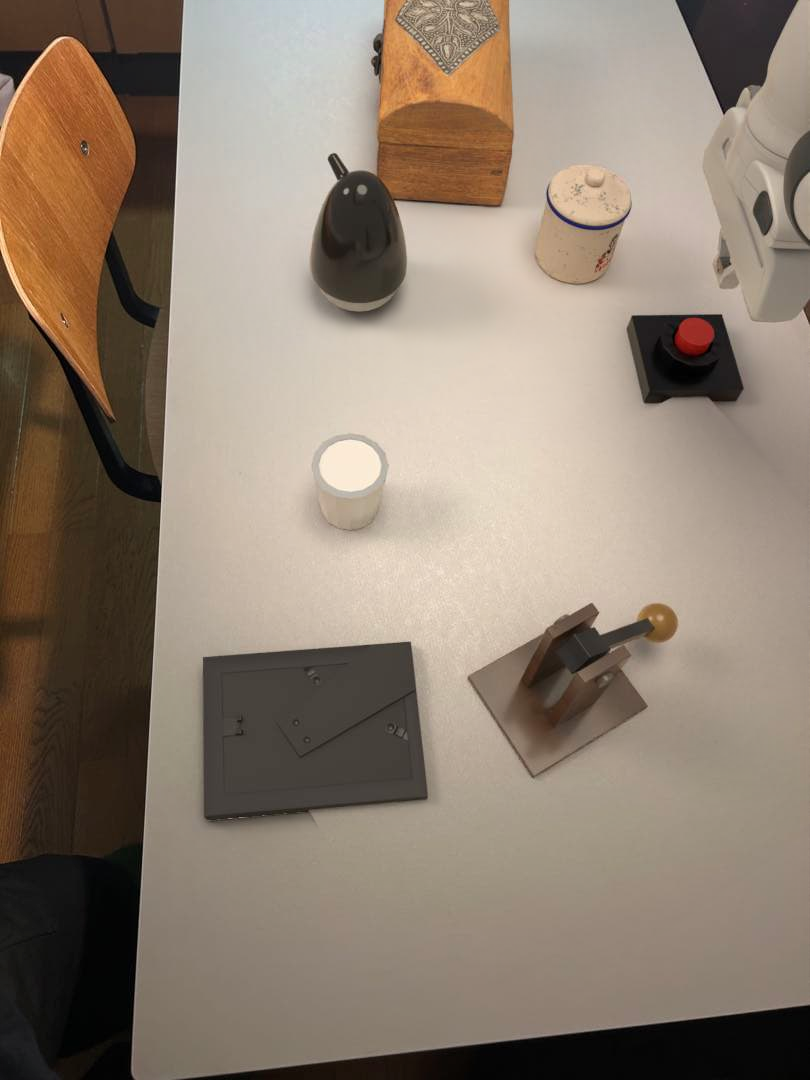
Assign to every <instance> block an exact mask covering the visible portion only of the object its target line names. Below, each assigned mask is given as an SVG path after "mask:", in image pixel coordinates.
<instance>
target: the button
mask: <svg viewBox="0 0 810 1080" xmlns="http://www.w3.org/2000/svg"><path fill="white" fill-rule="evenodd" d="M713 338H714V330H713V328H712V326H711V325H710V324H709V323H708V322H706V321H704V320H702V319H699V318H688V319H686V320H684V321H683V322H682V323H681V324H680V326H679V328H678V331H677V333H676V335H675V338H674V341H675V344H676V346H677V348H678V349H679V350H680V351H681V352H683V353H686V354H688V355H691V356H698V355H702V354H704V353H705V352H706V351H707V350H708V348H709V346H710V344H711V342H712V340H713Z"/></svg>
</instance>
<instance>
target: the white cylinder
mask: <svg viewBox="0 0 810 1080" xmlns="http://www.w3.org/2000/svg"><path fill="white" fill-rule="evenodd" d="M311 471H312V475H313V479H314V484H315V488H316V493H317V497H318V502H319V506H320V510H321V511H320V512H321V514H322V516H323V517H324V518H325V520H326V521H327V522H328V523H329V524H330V525H333V526H334V527H335V528H337V529H341V530H347V531H352V530H353V531H354V530H357V529H362V528H364V527H366V526H368V525H369V524H371V523H372V521H373V520H374V519H375V518H376V516H377V515H378V512H379V508H380V504H381V500H382V496H383V492H384V487H385V484H386V480H387V476H388V471H389V462H388V457H387V454H386V452H385V451H384V450H383V448H382V447H381V446H380V445H379V444H378V442H377V441H374V440H372V439H371V438H369V437H367V436H365V435H361V434H355V433H343V434H338V435H334V436H332V437H331V438H329V439H327V440H325V441H323V442H322V443H321V444H320V445H319V447H318V448H317V449H316V451H315V452H314V454H313V458H312V461H311Z"/></svg>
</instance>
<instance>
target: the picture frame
mask: <svg viewBox="0 0 810 1080" xmlns="http://www.w3.org/2000/svg"><path fill="white" fill-rule="evenodd" d="M417 692H418V691H417V685H416V675H415V666H414V658H413V648H412V642H411V641H401V642H400V641H399V642H386V643H374V644H373V643H372V644H359V645H346V646H333V647H320V648H307V649H294V650H293V649H292V650H279V651H278V650H277V651H267V652H265V651H264V652H253V653H240V654H229V655H228V654H225V655H214V656H213V655H212V656H211V655H210V656H202V721H203V723H202V724H203V725H202V726H203V727H202V730H203V731H202V732H203V733H202V734H203V735H202V737H203V817H204V818H205V820H206V821H207V820H216V821H218V820H217V819H227V820H229V819H228V818H238V819H240V818H239V817H249V818H253V817H252V816H261V817H263V816H262V815H272V816H276V815H275V814H283V815H285V814H284V813H294V814H298V813H297V812H305V813H309V812H308V811H311V810H319V809H320V810H321V809H322V810H323V809H331V808H345V807H355V806H365V805H367V806H368V805H378V804H387V803H389V804H390V803H398V802H399V803H400V802H410V801H420V800H427V799H428V797H429V794H428V793H429V791H428V784H427V775H426V774H427V773H426V766H425V756H424V748H423V747H424V746H423V739H422V730H421V721H420V711H419V704H418V703H419V702H418V693H417Z"/></svg>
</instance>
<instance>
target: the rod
mask: <svg viewBox="0 0 810 1080" xmlns="http://www.w3.org/2000/svg"><path fill="white" fill-rule="evenodd" d="M678 627H679V619H678V616H677V613H676V612H675V611H674V610H673V608H672V607H671V606H669V605H667V604H665V603H662V602H653V603H649V604H647V605H645V606H644V607H643V608H641V610H639V612H638V614H637V617H636V621H635V622H632V623H630V624H627V625H624V626H622V627H619V628H616V629H613V630H610V631H608V632H605V633H602V634H600V633H599V631H598V629H596V627H595V626H593V627H590V629H587V630H584V631H581V632H579V633H576V634H573V635H572V636H571V637H570V638H569V639H568V640H567V641H566V642H565V643H564V644H563V645H562V646H561V647H559V648H558V649H557V650H556V653H557V654H558V656H559V657H560V658H561V660H562V661H563V663H564V664H565V666H566V667H567V668H568V670H569V671H570V673H571V674H574V673H577V672H578V671H580V670H581V669H583V668H585V667H587V666H588V665H590V664H592V663H593V662H595V661H597V660H598V659H600V658H602V657H604V656H605V655H606V654H607V653H608V652H609V653H610V652H611V650H612V649H616V648H619V647H621V646H622V645H625V644H628V643H631V642H634V641H636V640H638V639H641V638H643V639H644V640H645V641H649V642H650V643H653V644H662V643H665V642H667V641H669V640H671V639H672V638H673V637H674V636H675V634H676V632H677V630H678Z"/></svg>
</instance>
